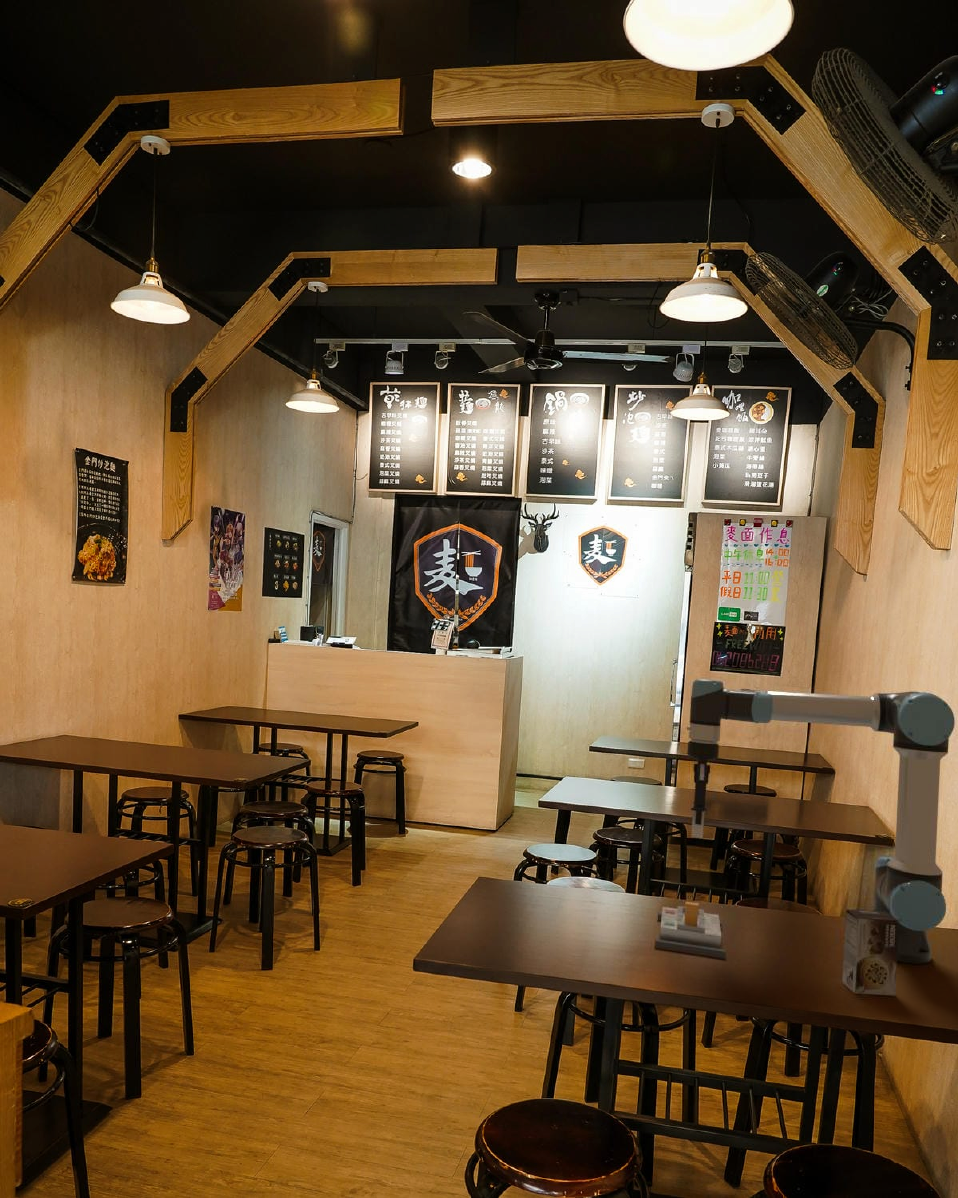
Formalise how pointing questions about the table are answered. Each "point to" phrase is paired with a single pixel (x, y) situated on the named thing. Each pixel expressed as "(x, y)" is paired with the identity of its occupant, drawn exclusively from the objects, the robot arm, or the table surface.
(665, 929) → the panel
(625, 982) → the table surface
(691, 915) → the lever
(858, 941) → the coffee box
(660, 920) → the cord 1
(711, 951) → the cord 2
